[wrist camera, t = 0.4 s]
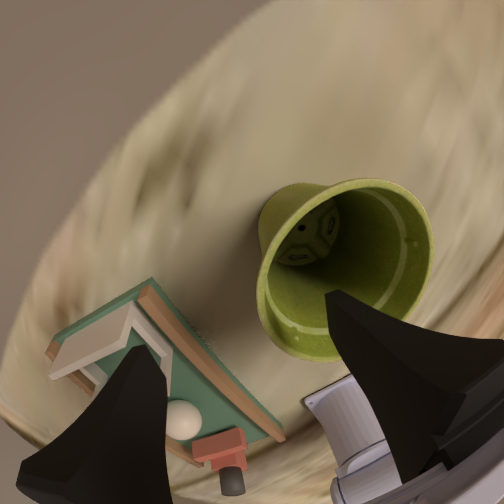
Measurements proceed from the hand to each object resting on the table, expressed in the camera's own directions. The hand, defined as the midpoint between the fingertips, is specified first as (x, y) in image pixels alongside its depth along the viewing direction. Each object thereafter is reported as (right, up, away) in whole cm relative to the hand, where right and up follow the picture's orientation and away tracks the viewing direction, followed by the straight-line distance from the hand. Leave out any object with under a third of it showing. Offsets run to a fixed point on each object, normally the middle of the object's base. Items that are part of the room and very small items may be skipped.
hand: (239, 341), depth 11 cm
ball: (-6, -12, +12) cm, 18 cm away
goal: (-11, -4, +11) cm, 15 cm away
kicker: (-3, -18, +16) cm, 24 cm away
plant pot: (+4, +5, +10) cm, 12 cm away
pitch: (-7, -11, +14) cm, 19 cm away
